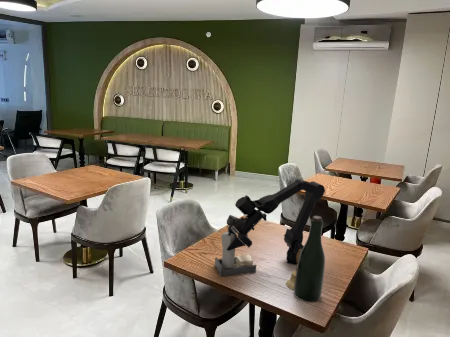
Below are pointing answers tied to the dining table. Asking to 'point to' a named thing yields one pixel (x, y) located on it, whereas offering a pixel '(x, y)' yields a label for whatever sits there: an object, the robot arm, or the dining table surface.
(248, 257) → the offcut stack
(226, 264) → the vintage mobile phone
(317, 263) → the beer bottle
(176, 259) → the dining table surface
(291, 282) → the hand bell
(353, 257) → the dining table surface
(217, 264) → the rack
